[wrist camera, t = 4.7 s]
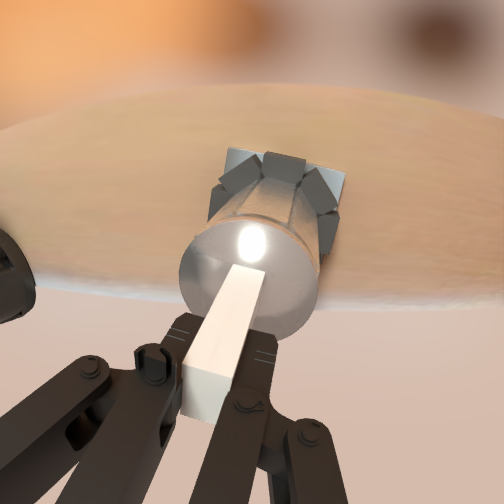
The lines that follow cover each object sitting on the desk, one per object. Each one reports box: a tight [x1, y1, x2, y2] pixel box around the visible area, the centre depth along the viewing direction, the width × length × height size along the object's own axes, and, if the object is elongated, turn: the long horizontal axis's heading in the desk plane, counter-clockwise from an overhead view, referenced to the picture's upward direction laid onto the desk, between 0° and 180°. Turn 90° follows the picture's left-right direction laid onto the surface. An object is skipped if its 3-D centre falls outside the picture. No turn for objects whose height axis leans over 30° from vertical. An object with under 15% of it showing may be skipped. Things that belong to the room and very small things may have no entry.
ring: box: [207, 151, 340, 265], centre depth 25 cm, size 10×10×2 cm
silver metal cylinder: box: [179, 177, 320, 341], centre depth 20 cm, size 7×7×10 cm
